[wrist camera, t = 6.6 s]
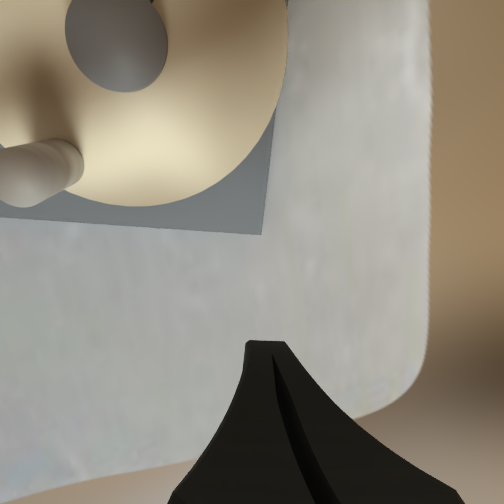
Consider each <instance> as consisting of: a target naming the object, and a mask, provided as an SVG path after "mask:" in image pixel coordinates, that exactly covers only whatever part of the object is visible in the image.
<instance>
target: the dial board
mask: <svg viewBox="0 0 504 504" xmlns="http://www.w3.org/2000/svg"><path fill="white" fill-rule="evenodd" d="M285 2H286V7H287V5H288V0H285ZM275 111H276V107H275V110H274V112H273V114H272V117H271V119H270V122H269V124H268V125H267V127H266V129H265V131H264V132H263V134H262V136H261V138H260V139H259V141H258V142H257V144H256V145H255V146H254V147H253V149H252V150H251V151H250V153H249V154H248V155H247V157H246V158H245V159H244V160H243V161H242V162H241V163H240V164H239V165H238V166H237V167H236V168H235V169H234V170H233V171H232V172H230V173H229V174H228V175H226V176H225V177H224V178H223V179H221V180H220V181H219V182H217V183H216V184H214V185H212V186H210V187H209V188H207V189H205V190H204V191H202V192H199V193H197V194H195V195H192V196H190V197H188V198H185V199H182V200H178V201H174V202H171V203H167V204H160V205H153V206H120V205H112V204H106V203H102V202H98V201H93V200H89V199H86V198H84V197H81V196H78V195H75V194H73V193H70V192H68V191H66V190H62V191H60V192H59V193H57V194H55V195H53V196H51V197H49V198H47V199H46V200H44V201H42V202H40V203H38V204H36V205H34V206H31V207H15V206H12V205H9V204H7V203H5V202H3V201H2V200H0V217H5V218H19V219H34V220H49V221H63V222H78V223H92V224H107V225H121V226H136V227H151V228H165V229H180V230H194V231H209V232H224V233H238V234H253V235H261V234H262V225H263V216H264V207H265V198H266V190H267V181H268V172H269V163H270V155H271V146H272V137H273V128H274V119H275ZM3 148H4V147H3V146H2V145H1V144H0V149H3Z"/></svg>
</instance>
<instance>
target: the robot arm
mask: <svg viewBox="0 0 504 504" xmlns="http://www.w3.org/2000/svg"><path fill="white" fill-rule="evenodd" d="M167 504H465V503H464V502H463V500H462V499H461V497H460V496H459V494H458V493H457V491H456V490H455V489H453V488H451V487H450V486H448V485H446V484H444V483H443V482H441V481H439V480H437V479H436V478H434V477H432V476H431V475H429V474H427V473H425V472H424V471H422V470H420V469H419V468H417V467H415V466H414V465H412V464H411V463H409V462H408V461H406V460H405V459H403V458H402V457H400V456H399V455H397V454H395V453H394V452H393V451H391V450H390V449H389V448H387V447H386V446H384V445H383V444H382V443H380V442H379V441H378V440H377V439H375V438H374V437H373V436H371V435H370V434H369V433H368V432H366V431H365V430H364V429H363V428H361V427H360V426H359V425H358V424H357V423H356V422H354V421H353V420H352V419H351V418H350V417H349V416H348V415H347V414H346V413H345V412H343V411H342V410H341V409H340V408H339V407H338V406H337V405H336V404H335V403H334V402H333V401H332V400H331V399H330V398H329V396H328V395H327V394H326V393H325V392H324V391H323V390H322V389H321V388H320V386H319V385H318V384H317V383H316V382H315V380H314V379H313V378H312V377H311V376H310V374H309V373H308V372H307V371H306V369H305V368H304V367H303V366H302V364H301V363H300V362H299V360H298V359H297V358H296V356H295V355H294V353H293V352H292V351H291V349H290V348H289V347H288V345H287V344H286V343H285V342H284V341H258V340H249V341H248V342H246V345H245V354H244V363H243V371H242V375H241V378H240V381H239V384H238V387H237V389H236V392H235V395H234V397H233V400H232V402H231V404H230V406H229V408H228V411H227V413H226V415H225V417H224V419H223V421H222V422H221V424H220V426H219V428H218V429H217V431H216V433H215V435H214V436H213V438H212V440H211V441H210V443H209V444H208V446H207V447H206V449H205V450H204V452H203V453H202V455H201V456H200V458H199V459H198V460H197V462H196V464H195V465H194V466H193V467H192V469H191V470H190V471H189V472H188V474H187V475H186V476H185V478H184V479H183V480H182V481H181V482H180V484H179V485H178V486H177V487H176V488H175V490H174V491H173V492H172V495H171V497H170V499H169V501H168V503H167Z"/></svg>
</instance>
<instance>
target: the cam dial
mask: <svg viewBox="0 0 504 504" xmlns="http://www.w3.org/2000/svg"><path fill="white" fill-rule="evenodd" d="M287 53H288V21H287V7H286V2H285V0H0V144H1V145H2V146H3V147H4V148H3V149H0V200H2V201H3V202H5V203H7V204H9V205H12V206H15V207H31V206H34V205H36V204H38V203H40V202H42V201H44V200H46V199H47V198H49V197H51V196H53V195H55V194H57V193H59V192H60V191H62V190H66V191H68V192H70V193H73V194H75V195H78V196H81V197H84V198H86V199H89V200H93V201H98V202H102V203H106V204H112V205H120V206H153V205H160V204H167V203H171V202H174V201H178V200H182V199H185V198H188V197H190V196H192V195H195V194H197V193H199V192H202V191H204V190H205V189H207V188H209V187H210V186H212V185H214V184H216V183H217V182H219V181H220V180H221V179H223V178H224V177H225V176H226V175H228V174H229V173H230V172H232V171H233V170H234V169H235V168H236V167H237V166H238V165H239V164H240V163H241V162H242V161H243V160H244V159H245V158H246V157H247V155H248V154H249V153H250V151H251V150H252V149H253V147H254V146H255V145H256V144H257V142H258V141H259V139H260V138H261V136H262V134H263V132H264V131H265V129H266V127H267V125H268V124H269V122H270V119H271V117H272V114H273V112H274V110H275V107H276V105H277V102H278V99H279V95H280V92H281V88H282V85H283V81H284V75H285V69H286V63H287Z"/></svg>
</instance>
